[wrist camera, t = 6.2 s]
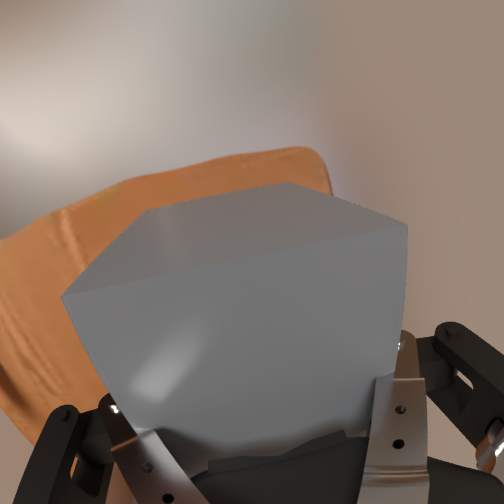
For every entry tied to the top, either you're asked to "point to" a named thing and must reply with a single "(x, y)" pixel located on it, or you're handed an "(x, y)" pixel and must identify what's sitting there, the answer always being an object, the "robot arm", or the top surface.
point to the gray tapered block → (245, 319)
